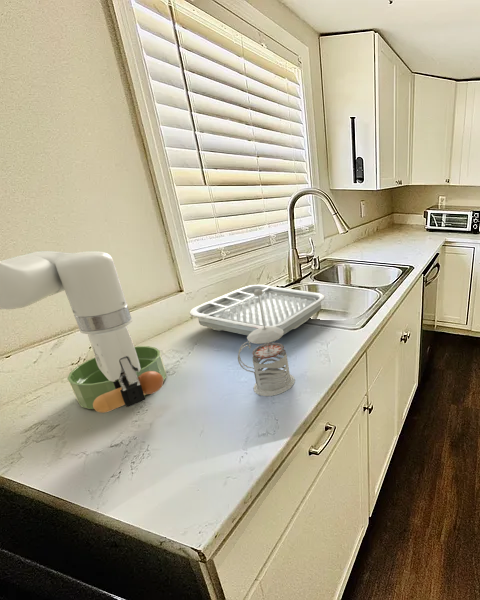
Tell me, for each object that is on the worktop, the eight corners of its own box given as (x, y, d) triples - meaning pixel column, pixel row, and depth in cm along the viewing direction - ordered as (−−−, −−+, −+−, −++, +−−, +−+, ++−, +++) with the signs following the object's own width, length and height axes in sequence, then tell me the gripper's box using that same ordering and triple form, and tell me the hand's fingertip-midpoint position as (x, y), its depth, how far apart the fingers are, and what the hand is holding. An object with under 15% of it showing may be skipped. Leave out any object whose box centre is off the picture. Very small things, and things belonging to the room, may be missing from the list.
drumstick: (99, 420, 62) (91, 399, 60) (93, 410, 65) (85, 390, 63) (169, 390, 71) (163, 371, 69) (160, 382, 73) (155, 364, 72)
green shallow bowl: (89, 422, 69) (77, 394, 67) (71, 392, 79) (60, 367, 76) (178, 383, 82) (170, 359, 79) (153, 362, 91) (145, 340, 89)
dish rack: (276, 352, 96) (272, 328, 93) (186, 333, 108) (180, 311, 105) (332, 312, 123) (330, 292, 120) (256, 301, 135) (252, 282, 132)
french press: (296, 390, 78) (281, 293, 70) (243, 402, 75) (221, 300, 66) (293, 369, 87) (280, 280, 78) (246, 378, 83) (226, 286, 74)
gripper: (67, 313, 63) (97, 392, 69) (90, 338, 54) (122, 426, 60) (116, 302, 68) (139, 376, 75) (144, 323, 59) (168, 405, 66)
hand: (132, 398), depth 67 cm, fingers closed on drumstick, 3 cm apart
